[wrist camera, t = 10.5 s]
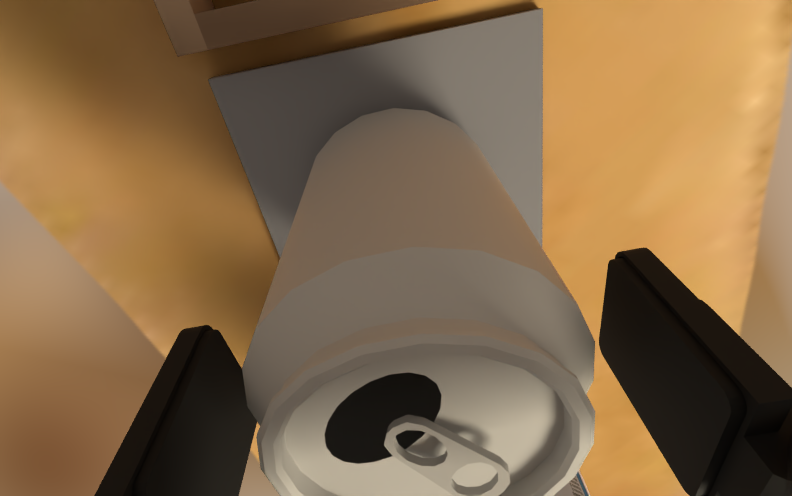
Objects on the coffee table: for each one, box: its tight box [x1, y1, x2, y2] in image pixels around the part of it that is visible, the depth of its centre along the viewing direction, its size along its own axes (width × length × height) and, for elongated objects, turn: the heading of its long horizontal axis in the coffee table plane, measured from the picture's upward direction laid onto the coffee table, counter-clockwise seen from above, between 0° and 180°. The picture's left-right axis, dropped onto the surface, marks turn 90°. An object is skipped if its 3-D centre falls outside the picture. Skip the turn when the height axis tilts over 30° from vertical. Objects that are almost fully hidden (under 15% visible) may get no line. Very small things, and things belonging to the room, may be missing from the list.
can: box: [242, 108, 595, 496], centre depth 13 cm, size 8×8×12 cm
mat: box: [208, 8, 543, 258], centre depth 18 cm, size 12×12×1 cm
